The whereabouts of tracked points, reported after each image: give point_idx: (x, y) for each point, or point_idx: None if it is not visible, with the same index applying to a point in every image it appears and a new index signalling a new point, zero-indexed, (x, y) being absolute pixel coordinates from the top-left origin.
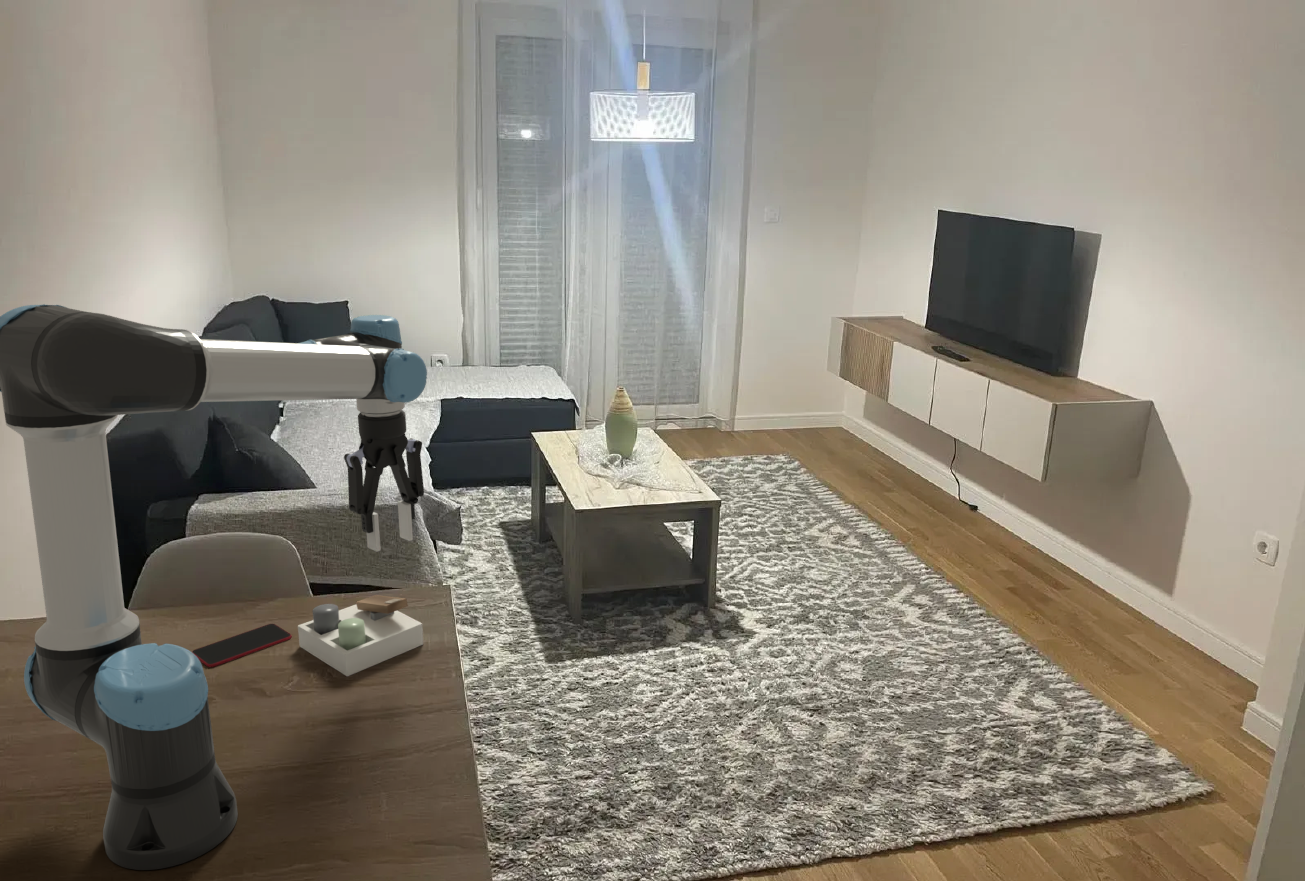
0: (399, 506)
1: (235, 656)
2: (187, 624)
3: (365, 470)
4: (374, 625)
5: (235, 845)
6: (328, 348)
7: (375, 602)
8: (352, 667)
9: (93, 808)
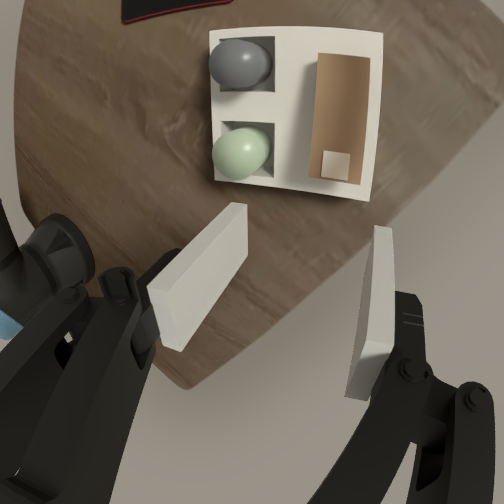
0: (364, 331)
1: (149, 15)
2: None
3: (10, 479)
4: (307, 133)
5: (93, 287)
6: None
7: (324, 115)
8: None
9: (39, 190)
